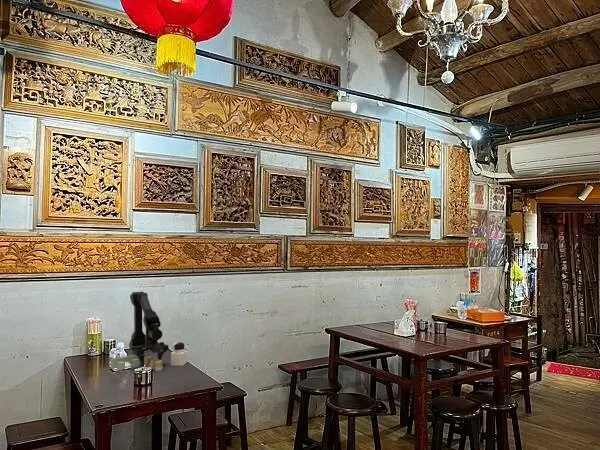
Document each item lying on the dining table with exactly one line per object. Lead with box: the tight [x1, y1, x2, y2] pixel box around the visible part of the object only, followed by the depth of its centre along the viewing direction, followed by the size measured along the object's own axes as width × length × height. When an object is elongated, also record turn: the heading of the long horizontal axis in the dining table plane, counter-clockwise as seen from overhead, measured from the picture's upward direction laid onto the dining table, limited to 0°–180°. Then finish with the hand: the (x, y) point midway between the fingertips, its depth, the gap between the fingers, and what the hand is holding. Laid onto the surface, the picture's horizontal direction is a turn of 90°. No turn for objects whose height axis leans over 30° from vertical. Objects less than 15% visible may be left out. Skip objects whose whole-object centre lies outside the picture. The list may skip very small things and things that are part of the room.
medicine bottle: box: [170, 342, 188, 367], centre depth 274 cm, size 7×7×12 cm
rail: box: [144, 354, 163, 372], centre depth 268 cm, size 18×4×5 cm, turn 43°
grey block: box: [110, 355, 141, 371], centre depth 268 cm, size 6×16×6 cm, turn 133°
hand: (151, 365), depth 269 cm, fingers open, 9 cm apart
